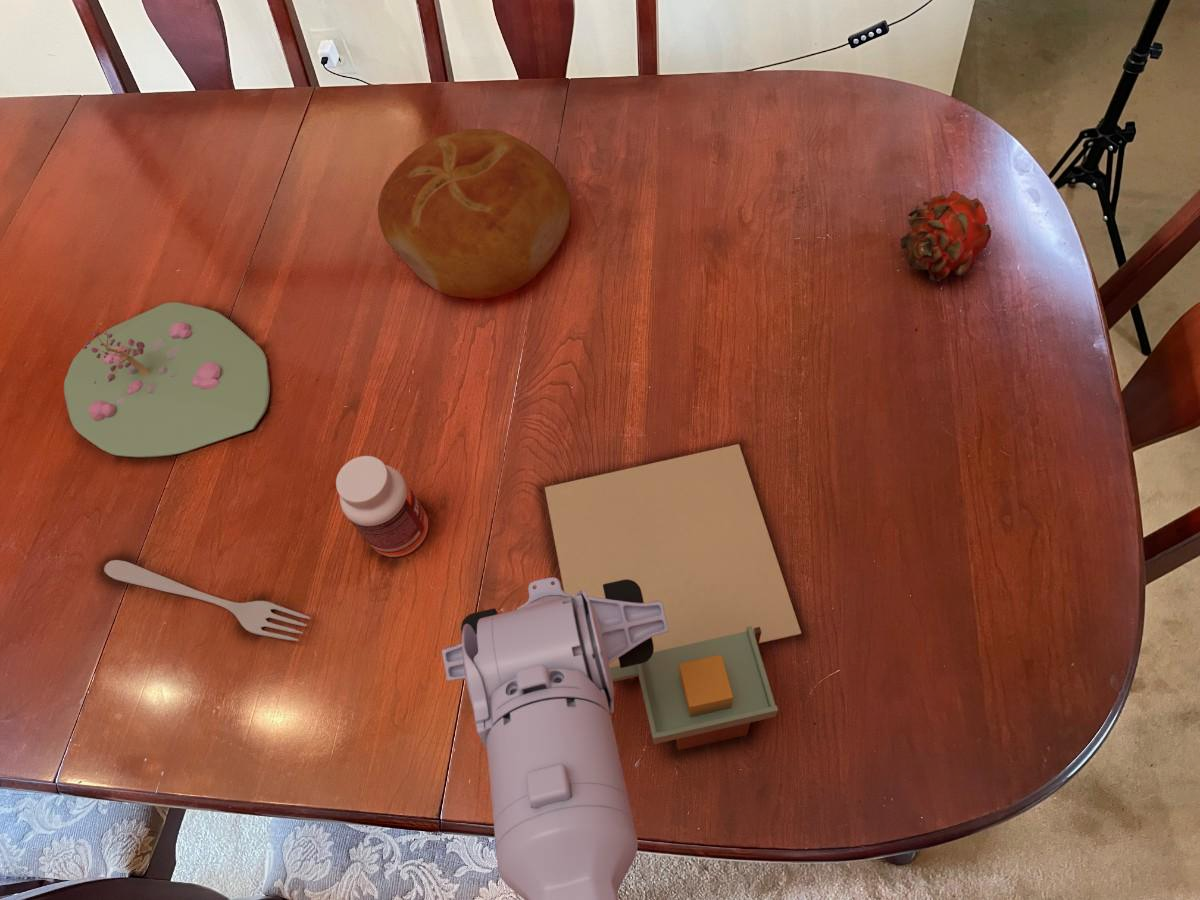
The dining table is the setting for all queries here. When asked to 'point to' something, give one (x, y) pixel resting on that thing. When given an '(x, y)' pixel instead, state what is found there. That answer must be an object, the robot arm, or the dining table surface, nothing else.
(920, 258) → the dragon fruit
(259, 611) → the fork
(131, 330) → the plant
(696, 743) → the stand
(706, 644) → the tray
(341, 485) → the pill bottle
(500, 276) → the bread
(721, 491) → the mat
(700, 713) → the block
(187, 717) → the dining table surface
